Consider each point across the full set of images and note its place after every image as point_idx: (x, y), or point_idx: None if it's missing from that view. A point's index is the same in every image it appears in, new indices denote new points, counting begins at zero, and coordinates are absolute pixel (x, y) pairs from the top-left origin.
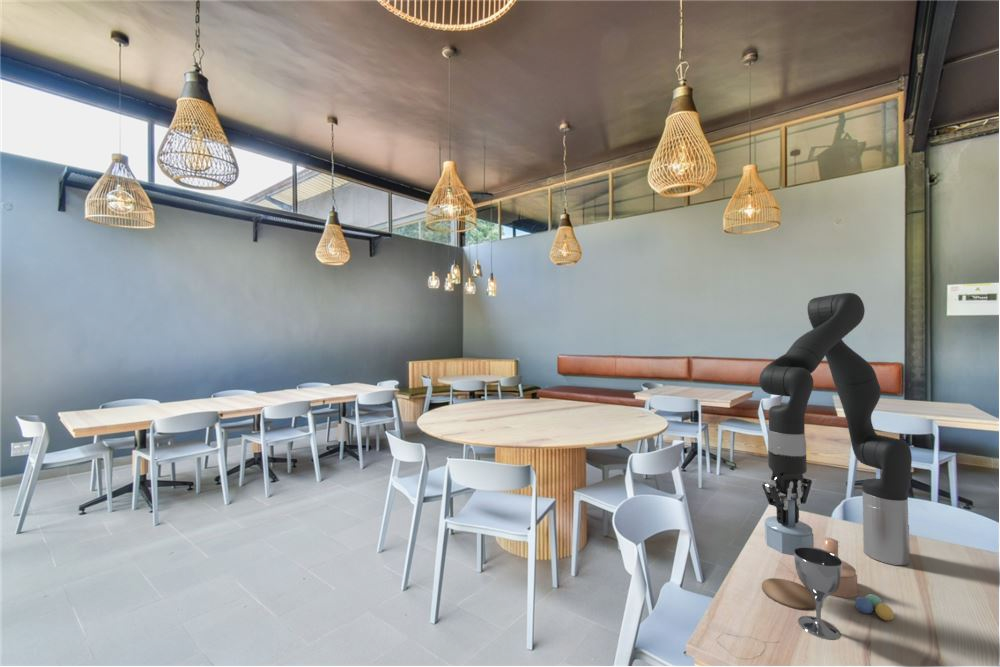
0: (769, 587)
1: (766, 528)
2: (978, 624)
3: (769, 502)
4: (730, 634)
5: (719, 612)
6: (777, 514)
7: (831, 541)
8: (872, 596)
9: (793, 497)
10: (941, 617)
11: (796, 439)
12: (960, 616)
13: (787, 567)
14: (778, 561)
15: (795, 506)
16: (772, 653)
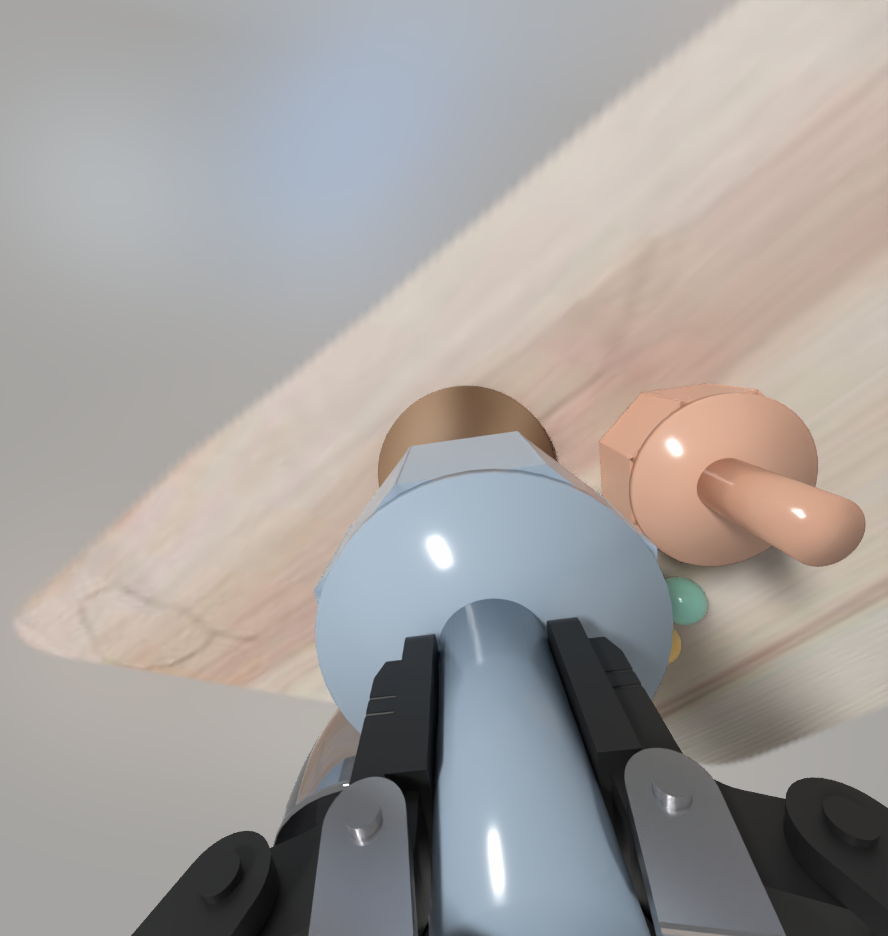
0: (415, 438)
1: (336, 557)
2: (875, 690)
3: (166, 916)
4: (133, 594)
5: (152, 507)
6: (365, 730)
7: (813, 545)
8: (683, 615)
9: (811, 856)
10: (817, 652)
11: None
12: (877, 659)
13: (632, 308)
14: (640, 252)
15: (624, 852)
16: (206, 667)
